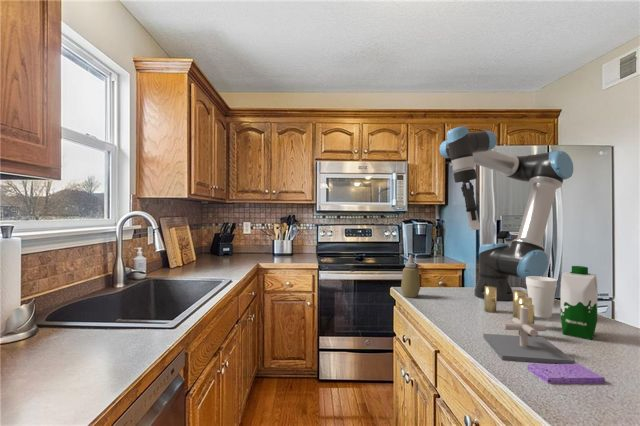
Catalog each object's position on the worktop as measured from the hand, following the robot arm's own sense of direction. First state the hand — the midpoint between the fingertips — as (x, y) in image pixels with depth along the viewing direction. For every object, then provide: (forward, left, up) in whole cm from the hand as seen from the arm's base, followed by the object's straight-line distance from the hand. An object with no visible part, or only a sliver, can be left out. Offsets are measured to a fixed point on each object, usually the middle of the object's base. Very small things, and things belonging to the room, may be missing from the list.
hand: (474, 227), depth 127 cm
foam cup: (-23, -2, -31) cm, 39 cm away
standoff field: (-10, +10, -31) cm, 34 cm away
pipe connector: (-4, +34, -30) cm, 46 cm away
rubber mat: (-4, +34, -31) cm, 46 cm away
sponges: (-7, +49, -32) cm, 58 cm away
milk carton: (-25, +18, -31) cm, 44 cm away
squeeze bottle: (+21, -21, -31) cm, 43 cm away
